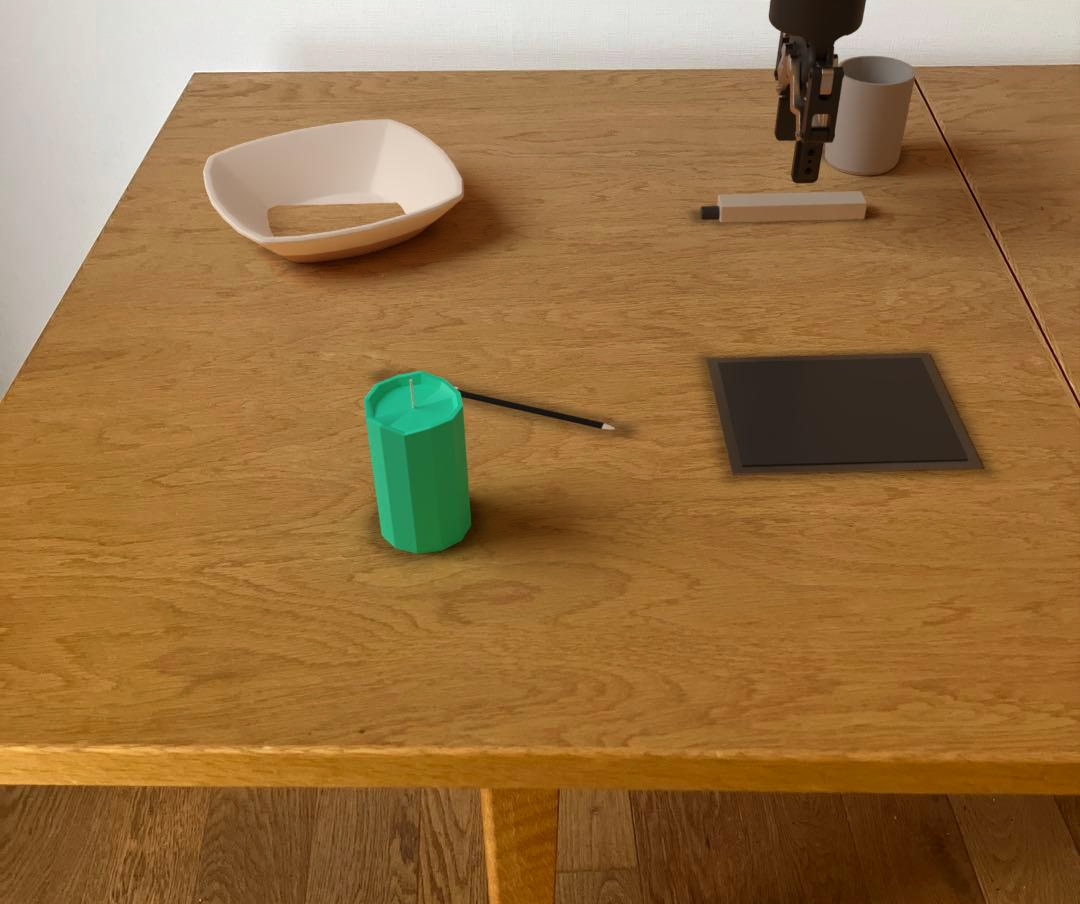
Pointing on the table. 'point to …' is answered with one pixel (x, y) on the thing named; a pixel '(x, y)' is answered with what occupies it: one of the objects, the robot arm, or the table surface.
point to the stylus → (787, 207)
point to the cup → (870, 115)
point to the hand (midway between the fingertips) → (794, 159)
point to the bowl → (334, 184)
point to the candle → (419, 461)
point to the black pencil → (535, 410)
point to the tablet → (837, 415)
